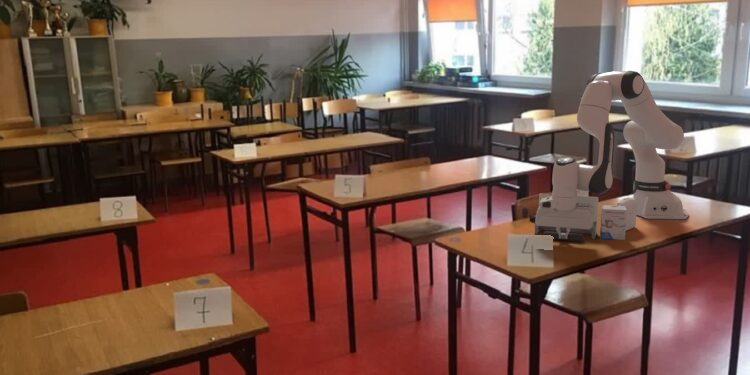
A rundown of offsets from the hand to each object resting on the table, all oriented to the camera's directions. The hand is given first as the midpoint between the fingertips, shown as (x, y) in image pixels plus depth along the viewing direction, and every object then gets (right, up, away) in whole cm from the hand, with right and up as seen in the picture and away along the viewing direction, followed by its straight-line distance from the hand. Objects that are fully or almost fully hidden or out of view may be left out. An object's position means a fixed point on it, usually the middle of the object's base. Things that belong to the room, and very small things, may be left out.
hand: (563, 238), depth 235 cm
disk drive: (+2, +4, +25) cm, 25 cm away
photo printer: (+28, +2, +13) cm, 31 cm away
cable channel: (+4, +1, +9) cm, 10 cm away
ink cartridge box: (+16, +7, +36) cm, 40 cm away
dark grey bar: (+1, +1, +2) cm, 2 cm away
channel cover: (+5, +11, +12) cm, 17 cm away
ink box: (+19, 0, +3) cm, 20 cm away
